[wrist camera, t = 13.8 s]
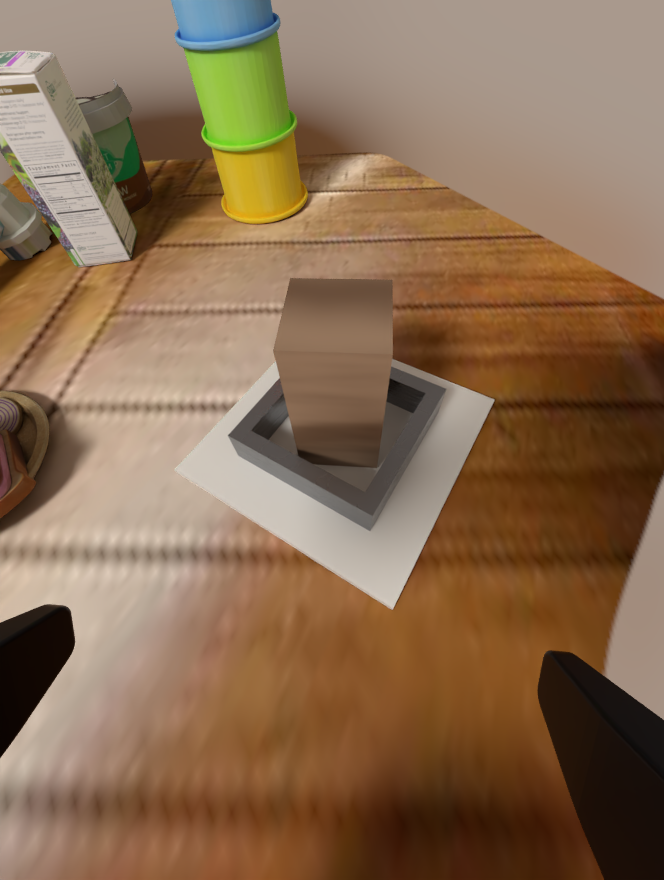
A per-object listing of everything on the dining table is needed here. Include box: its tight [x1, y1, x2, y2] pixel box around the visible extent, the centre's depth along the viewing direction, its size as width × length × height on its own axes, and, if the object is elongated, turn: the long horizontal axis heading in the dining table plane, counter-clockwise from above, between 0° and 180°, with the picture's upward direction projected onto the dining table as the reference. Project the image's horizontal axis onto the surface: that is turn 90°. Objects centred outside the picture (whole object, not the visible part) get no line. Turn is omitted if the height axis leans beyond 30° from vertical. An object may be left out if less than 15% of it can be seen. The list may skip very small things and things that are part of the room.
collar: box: [228, 366, 446, 531], centre depth 24 cm, size 10×10×2 cm
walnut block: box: [273, 278, 393, 468], centre depth 21 cm, size 5×5×10 cm
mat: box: [174, 359, 494, 610], centre depth 25 cm, size 16×16×1 cm
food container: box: [76, 79, 152, 214], centre depth 40 cm, size 12×6×10 cm, turn 129°
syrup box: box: [0, 51, 137, 267], centre depth 33 cm, size 6×6×14 cm
